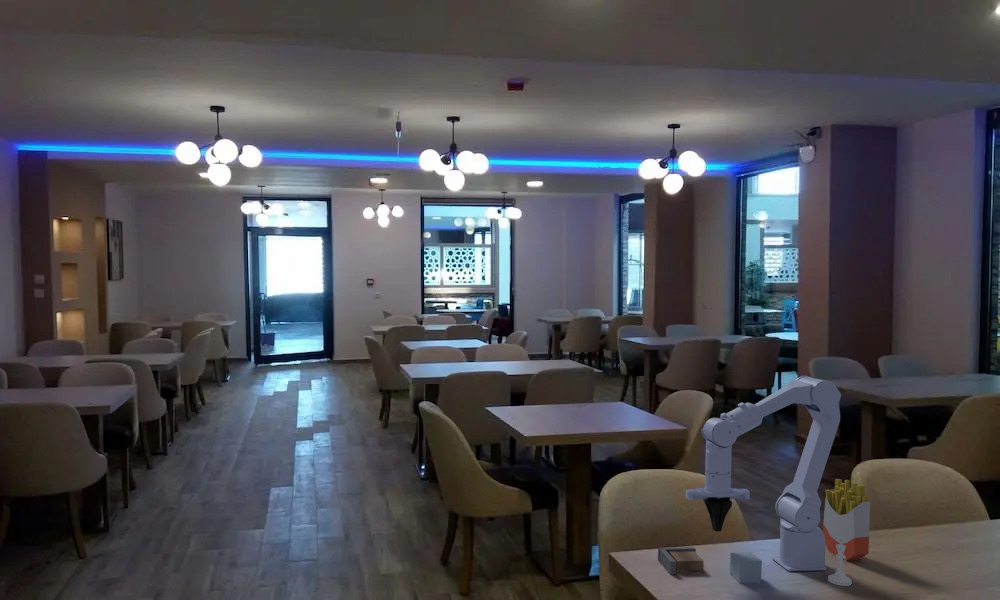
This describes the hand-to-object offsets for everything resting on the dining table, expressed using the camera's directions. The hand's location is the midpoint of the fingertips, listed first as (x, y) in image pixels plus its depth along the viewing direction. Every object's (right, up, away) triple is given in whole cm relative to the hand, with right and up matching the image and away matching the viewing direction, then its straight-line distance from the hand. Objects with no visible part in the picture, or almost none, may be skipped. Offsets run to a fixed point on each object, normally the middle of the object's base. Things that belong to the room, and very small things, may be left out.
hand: (716, 530), depth 173 cm
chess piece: (+26, -10, -6) cm, 28 cm away
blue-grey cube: (+5, -9, -5) cm, 12 cm away
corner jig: (-7, -9, 0) cm, 11 cm away
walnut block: (-7, -9, 0) cm, 12 cm away
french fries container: (+34, -10, +10) cm, 36 cm away
